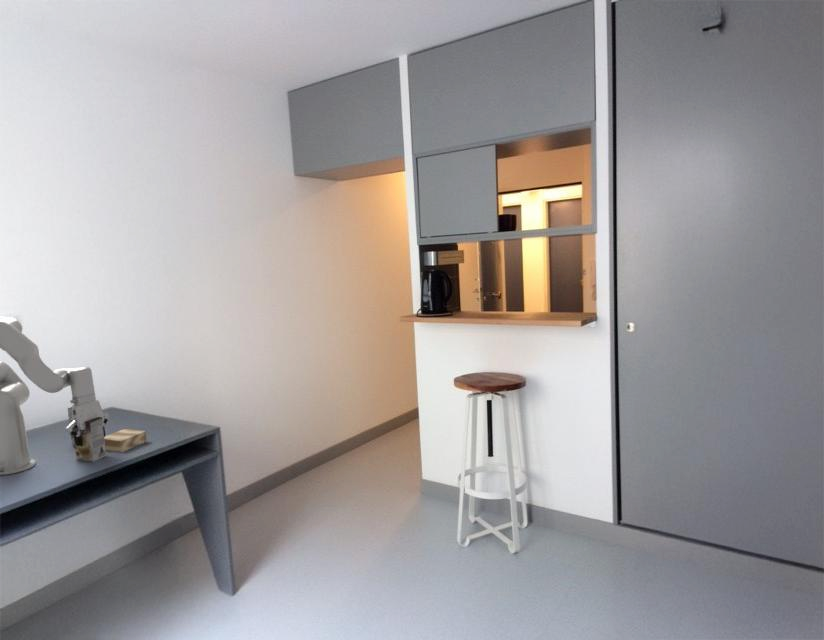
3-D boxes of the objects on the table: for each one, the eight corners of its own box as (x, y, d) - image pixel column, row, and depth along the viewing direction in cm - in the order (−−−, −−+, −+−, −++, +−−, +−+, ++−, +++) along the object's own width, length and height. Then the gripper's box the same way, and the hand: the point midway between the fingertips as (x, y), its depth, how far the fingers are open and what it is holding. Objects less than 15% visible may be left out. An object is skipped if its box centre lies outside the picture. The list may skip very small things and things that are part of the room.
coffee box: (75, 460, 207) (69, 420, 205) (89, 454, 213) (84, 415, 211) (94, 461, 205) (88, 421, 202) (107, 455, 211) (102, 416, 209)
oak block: (122, 453, 214) (120, 441, 213) (101, 450, 218) (99, 438, 217) (146, 442, 225) (145, 431, 224) (126, 439, 229) (124, 428, 229)
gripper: (69, 406, 196) (76, 450, 199) (111, 393, 212) (117, 434, 215) (55, 405, 199) (63, 448, 202) (97, 392, 215) (103, 432, 217)
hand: (91, 441), depth 208 cm, fingers open, 9 cm apart
